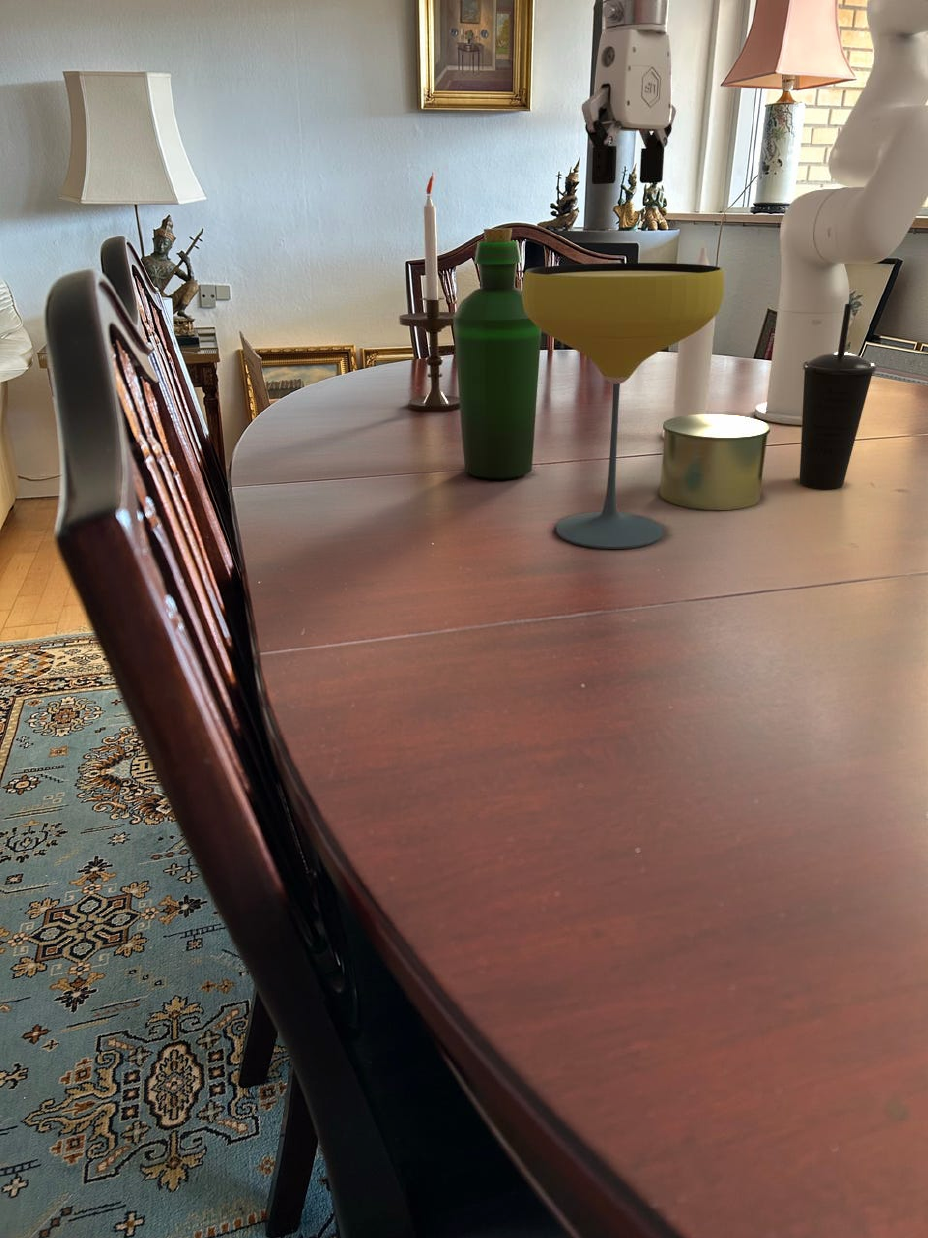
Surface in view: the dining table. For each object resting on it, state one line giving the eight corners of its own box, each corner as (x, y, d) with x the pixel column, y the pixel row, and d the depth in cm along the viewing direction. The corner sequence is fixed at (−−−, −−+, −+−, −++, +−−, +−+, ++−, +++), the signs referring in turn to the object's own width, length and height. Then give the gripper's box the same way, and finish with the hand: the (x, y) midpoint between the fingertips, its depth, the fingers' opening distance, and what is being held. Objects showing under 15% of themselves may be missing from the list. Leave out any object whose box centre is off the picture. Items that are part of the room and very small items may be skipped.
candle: (714, 444, 123) (734, 247, 112) (661, 442, 124) (676, 247, 113) (712, 432, 129) (730, 244, 118) (662, 430, 130) (675, 245, 120)
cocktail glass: (661, 576, 80) (685, 278, 69) (488, 543, 89) (485, 274, 78) (723, 519, 94) (750, 263, 83) (567, 495, 102) (574, 261, 92)
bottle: (550, 464, 115) (555, 226, 103) (528, 487, 106) (531, 229, 94) (471, 458, 118) (468, 227, 106) (444, 480, 109) (436, 230, 97)
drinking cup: (823, 496, 100) (852, 309, 92) (772, 480, 106) (795, 303, 98) (870, 486, 103) (903, 304, 95) (819, 471, 109) (845, 298, 101)
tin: (724, 477, 108) (731, 410, 105) (782, 503, 98) (792, 431, 95) (640, 487, 105) (644, 419, 102) (691, 515, 95) (698, 441, 92)
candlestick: (471, 399, 154) (467, 172, 139) (465, 412, 144) (460, 170, 129) (408, 399, 155) (398, 174, 140) (398, 412, 145) (386, 172, 130)
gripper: (614, 7, 97) (608, 182, 104) (703, 22, 107) (692, 181, 115) (561, 18, 102) (559, 185, 109) (651, 31, 112) (644, 183, 120)
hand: (627, 182), depth 112 cm, fingers open, 9 cm apart
